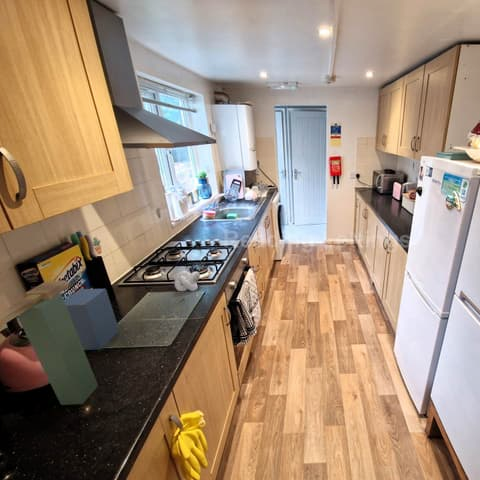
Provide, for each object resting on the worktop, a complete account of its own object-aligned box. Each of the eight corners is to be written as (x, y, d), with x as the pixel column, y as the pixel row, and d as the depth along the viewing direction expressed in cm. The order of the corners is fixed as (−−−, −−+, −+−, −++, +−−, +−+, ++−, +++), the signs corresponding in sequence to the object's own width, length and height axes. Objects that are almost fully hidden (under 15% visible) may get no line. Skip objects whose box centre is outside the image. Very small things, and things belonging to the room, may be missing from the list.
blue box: (75, 352, 94) (55, 305, 86) (96, 333, 103) (80, 289, 96) (102, 351, 94) (84, 304, 87) (120, 332, 104) (105, 288, 96)
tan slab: (49, 287, 71) (47, 280, 70) (69, 286, 71) (66, 280, 71) (-29, 333, 54) (-34, 325, 54) (-3, 332, 55) (-8, 325, 54)
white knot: (192, 280, 141) (189, 265, 138) (208, 286, 136) (205, 270, 133) (172, 290, 132) (169, 274, 129) (188, 297, 127) (185, 280, 124)
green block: (62, 407, 75) (12, 307, 62) (78, 388, 80) (36, 293, 68) (84, 406, 75) (39, 307, 63) (99, 387, 81) (60, 293, 68)
